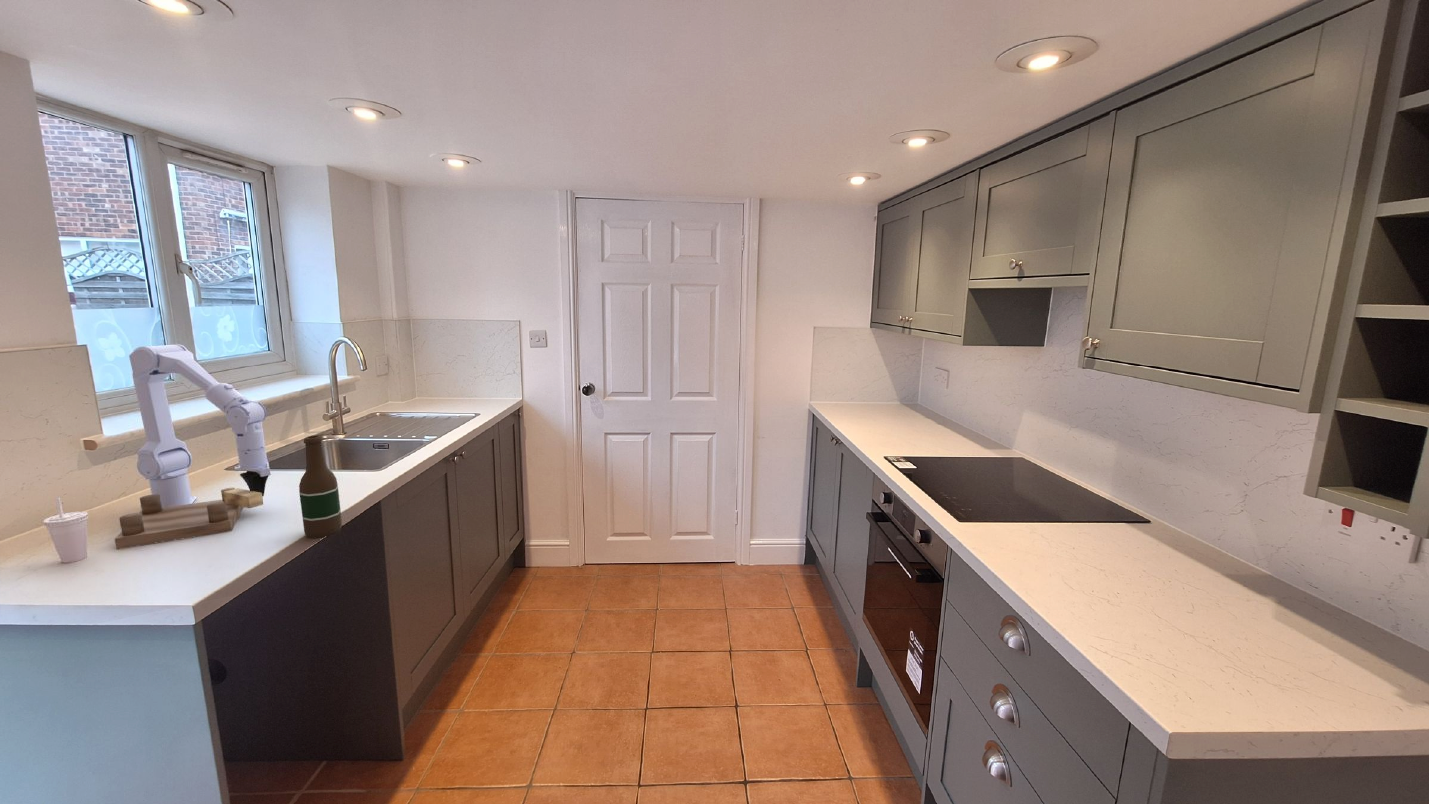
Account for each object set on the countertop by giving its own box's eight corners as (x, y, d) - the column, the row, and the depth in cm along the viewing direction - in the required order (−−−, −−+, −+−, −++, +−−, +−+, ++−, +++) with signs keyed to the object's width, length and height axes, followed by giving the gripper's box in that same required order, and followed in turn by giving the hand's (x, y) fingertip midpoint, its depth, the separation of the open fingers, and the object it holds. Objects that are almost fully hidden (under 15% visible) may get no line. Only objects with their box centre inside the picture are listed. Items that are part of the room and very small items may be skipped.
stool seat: (143, 519, 143) (139, 495, 142) (244, 505, 154) (241, 482, 152) (116, 549, 126) (111, 522, 125) (231, 530, 137) (228, 505, 136)
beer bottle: (301, 531, 137) (288, 436, 133) (338, 523, 143) (327, 431, 138) (308, 541, 132) (296, 442, 127) (346, 531, 137) (336, 436, 133)
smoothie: (47, 561, 120) (33, 499, 118) (90, 550, 126) (78, 490, 123) (57, 568, 117) (44, 504, 115) (101, 556, 123) (89, 495, 120)
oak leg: (219, 502, 149) (217, 490, 148) (233, 498, 152) (231, 486, 151) (249, 508, 144) (248, 496, 144) (263, 504, 147) (261, 492, 147)
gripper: (221, 447, 148) (229, 496, 151) (243, 456, 140) (251, 507, 143) (254, 441, 154) (261, 488, 156) (277, 449, 146) (283, 499, 149)
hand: (258, 497), depth 150 cm, fingers closed, pressing on oak leg
